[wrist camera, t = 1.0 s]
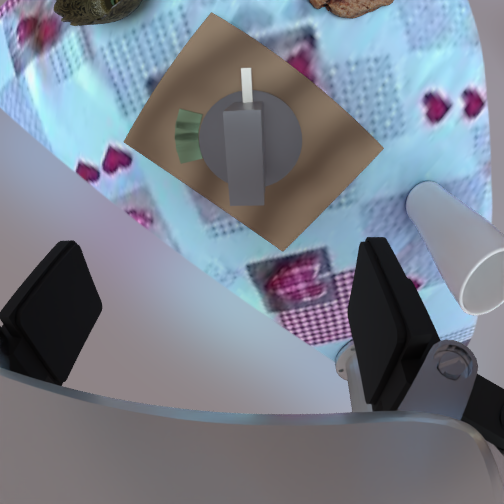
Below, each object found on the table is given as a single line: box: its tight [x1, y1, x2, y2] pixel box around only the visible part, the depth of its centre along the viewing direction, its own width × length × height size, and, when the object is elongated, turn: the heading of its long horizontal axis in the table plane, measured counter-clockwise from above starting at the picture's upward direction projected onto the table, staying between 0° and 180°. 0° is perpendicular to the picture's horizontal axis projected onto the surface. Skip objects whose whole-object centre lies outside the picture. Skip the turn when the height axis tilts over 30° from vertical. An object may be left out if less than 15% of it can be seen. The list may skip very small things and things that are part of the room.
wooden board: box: [124, 12, 384, 251], centre depth 28 cm, size 20×15×2 cm
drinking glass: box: [406, 181, 504, 315], centre depth 25 cm, size 7×7×15 cm
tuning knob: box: [199, 68, 302, 206], centre depth 23 cm, size 11×9×7 cm
